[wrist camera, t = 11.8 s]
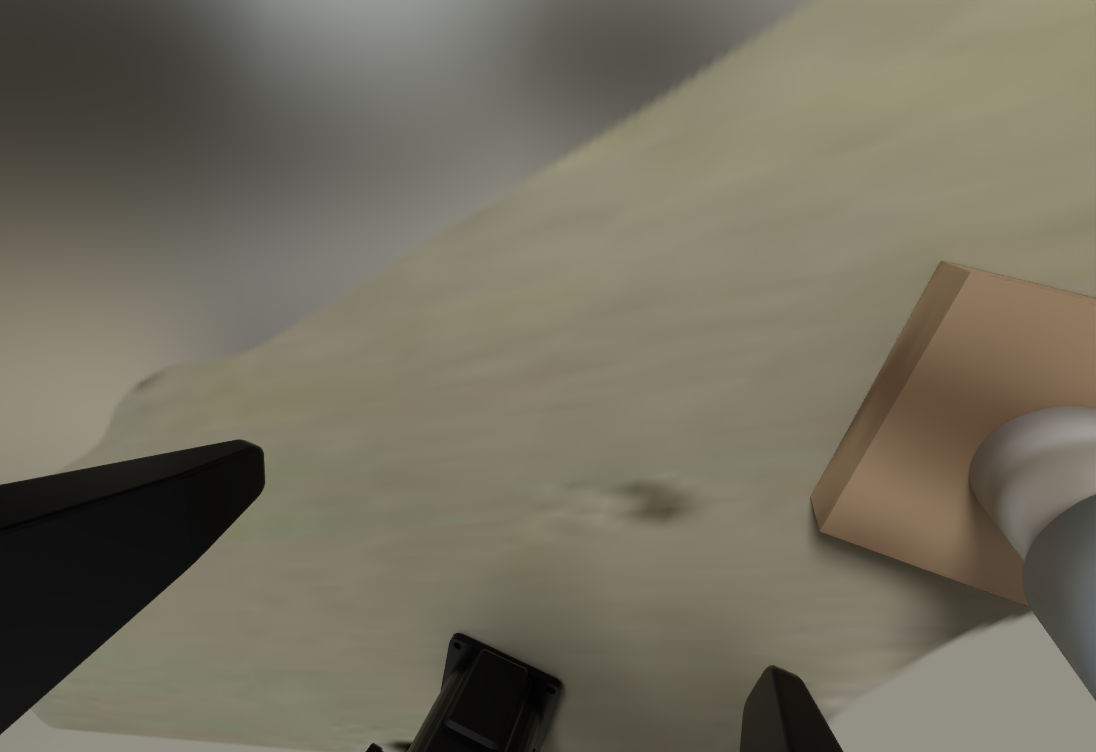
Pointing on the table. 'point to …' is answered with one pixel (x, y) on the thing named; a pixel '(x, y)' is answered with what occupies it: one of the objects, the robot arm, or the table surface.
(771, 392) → the table surface
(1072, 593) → the smooth rounded gray lump
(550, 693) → the robot arm
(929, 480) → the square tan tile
